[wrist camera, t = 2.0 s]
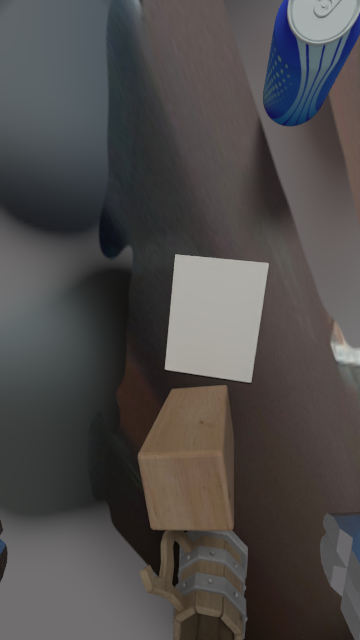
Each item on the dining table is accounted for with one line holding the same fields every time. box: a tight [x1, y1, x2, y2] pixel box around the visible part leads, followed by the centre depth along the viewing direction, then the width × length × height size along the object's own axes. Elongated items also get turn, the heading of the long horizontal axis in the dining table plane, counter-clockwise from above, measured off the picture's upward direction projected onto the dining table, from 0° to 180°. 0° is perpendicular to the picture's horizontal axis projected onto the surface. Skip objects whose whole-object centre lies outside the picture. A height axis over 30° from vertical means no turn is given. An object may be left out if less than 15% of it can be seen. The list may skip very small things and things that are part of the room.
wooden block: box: [138, 385, 234, 531], centre depth 44 cm, size 10×10×20 cm
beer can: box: [263, 0, 360, 126], centre depth 35 cm, size 8×8×16 cm
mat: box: [165, 254, 269, 383], centre depth 50 cm, size 20×15×1 cm
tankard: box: [140, 530, 248, 640], centre depth 51 cm, size 20×13×15 cm, turn 44°
